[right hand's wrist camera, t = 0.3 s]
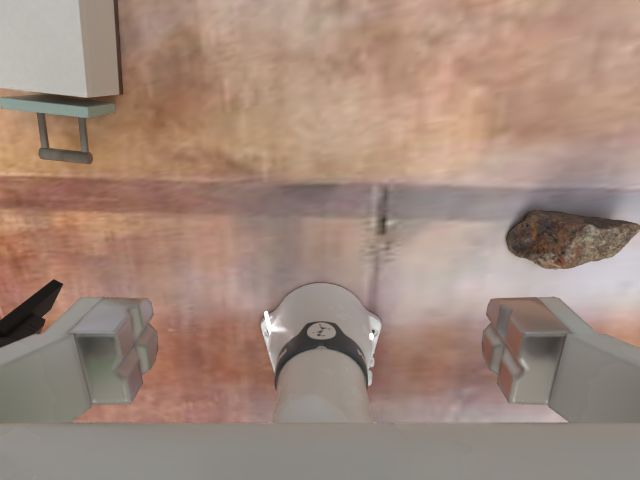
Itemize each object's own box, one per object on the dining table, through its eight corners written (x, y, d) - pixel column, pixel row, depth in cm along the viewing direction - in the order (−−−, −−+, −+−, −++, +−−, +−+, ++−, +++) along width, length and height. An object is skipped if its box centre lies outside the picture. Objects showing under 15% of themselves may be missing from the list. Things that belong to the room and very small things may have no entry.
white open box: (123, 94, 53) (87, 98, 45) (36, 84, 53) (-16, 86, 45) (112, -77, 47) (68, -109, 38) (13, -90, 46) (-53, -125, 38)
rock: (520, 190, 59) (496, 254, 62) (546, 207, 51) (517, 279, 54) (622, 210, 59) (592, 273, 62) (664, 231, 51) (627, 302, 54)
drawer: (118, 160, 55) (93, 171, 49) (45, 152, 55) (9, 162, 49) (105, -42, 47) (72, -59, 41) (18, -53, 47) (-29, -72, 40)
